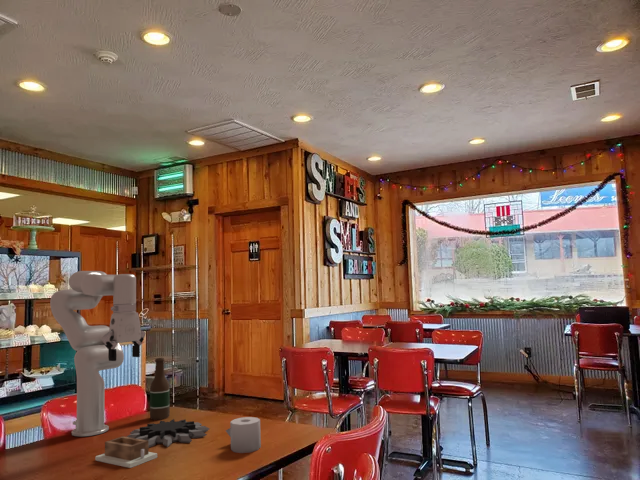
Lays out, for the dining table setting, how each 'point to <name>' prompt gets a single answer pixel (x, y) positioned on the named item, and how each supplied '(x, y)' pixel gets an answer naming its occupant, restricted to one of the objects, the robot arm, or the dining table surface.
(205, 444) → the dining table surface
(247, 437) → the toilet tissue
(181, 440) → the decorative piece
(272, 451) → the dining table surface
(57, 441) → the dining table surface
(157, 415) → the beer bottle
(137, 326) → the robot arm
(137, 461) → the panel
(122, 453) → the frame
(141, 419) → the dining table surface
